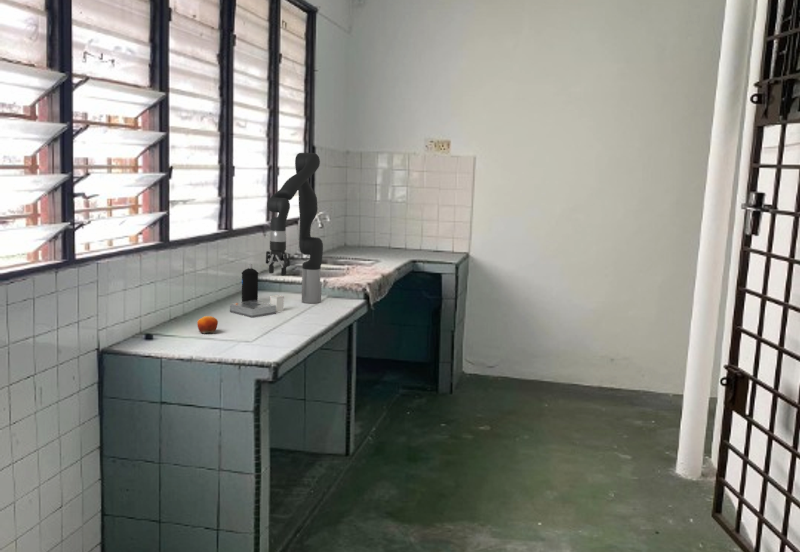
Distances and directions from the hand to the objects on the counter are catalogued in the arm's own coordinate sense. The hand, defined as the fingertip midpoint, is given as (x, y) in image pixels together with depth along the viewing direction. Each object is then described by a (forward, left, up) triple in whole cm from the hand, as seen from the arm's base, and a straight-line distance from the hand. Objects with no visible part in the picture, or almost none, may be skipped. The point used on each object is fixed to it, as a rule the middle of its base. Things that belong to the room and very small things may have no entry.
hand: (277, 274), depth 340 cm
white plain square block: (0, 0, -18) cm, 18 cm away
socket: (+12, -3, -18) cm, 21 cm away
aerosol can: (0, -20, -18) cm, 27 cm away
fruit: (+51, +16, -18) cm, 56 cm away
